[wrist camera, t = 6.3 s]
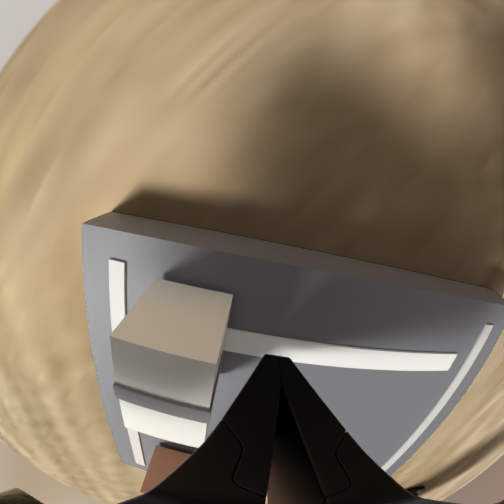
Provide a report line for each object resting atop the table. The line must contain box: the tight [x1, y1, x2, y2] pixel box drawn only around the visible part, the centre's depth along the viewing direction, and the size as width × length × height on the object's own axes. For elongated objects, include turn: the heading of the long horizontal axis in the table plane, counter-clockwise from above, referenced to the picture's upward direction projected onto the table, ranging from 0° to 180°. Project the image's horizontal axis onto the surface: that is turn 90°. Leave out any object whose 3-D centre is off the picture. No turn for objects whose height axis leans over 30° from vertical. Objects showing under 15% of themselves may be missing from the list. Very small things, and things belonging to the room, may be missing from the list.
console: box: [82, 212, 504, 476], centre depth 12 cm, size 18×16×2 cm
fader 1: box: [110, 278, 233, 448], centre depth 7 cm, size 2×4×3 cm
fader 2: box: [140, 445, 192, 495], centre depth 11 cm, size 2×4×3 cm
